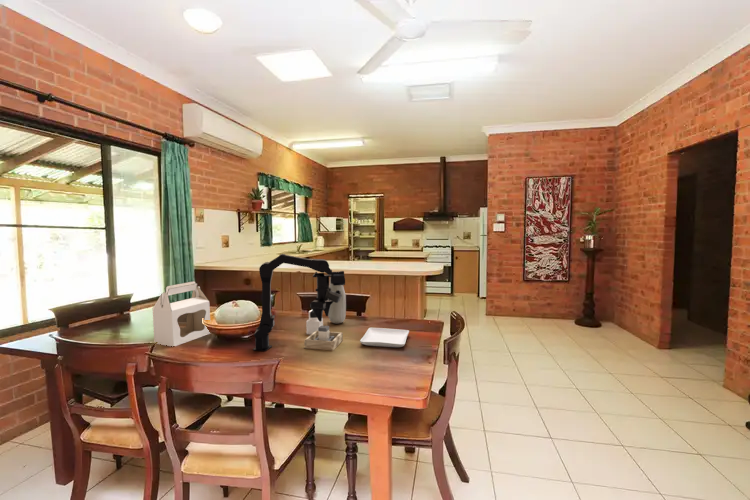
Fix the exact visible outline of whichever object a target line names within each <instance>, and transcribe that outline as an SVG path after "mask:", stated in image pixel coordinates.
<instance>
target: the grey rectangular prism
mask: <svg viewBox="0 0 750 500" xmlns="http://www.w3.org/2000/svg"><path fill="white" fill-rule="evenodd" d="M329 332H330V325H323V326H322V325H321V326H320V327H319V328H318V335H319V340H329Z"/></svg>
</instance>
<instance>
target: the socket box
mask: <svg viewBox="0 0 750 500" xmlns="http://www.w3.org/2000/svg"><path fill="white" fill-rule="evenodd" d="M303 341H304V345H303V346H304V349H307V350H308V349H310V350H322V351H323V350H324V351H325V350H326V351H335V349H336V348H337V347H338V346H339V345H340V344H341V343H342V342H343V332H341V331H329V340H319V335H318V331H315V332H314V333H312V334H309V335H308V337H306V338H305V339H304V340H303Z"/></svg>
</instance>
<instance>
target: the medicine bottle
mask: <svg viewBox="0 0 750 500" xmlns="http://www.w3.org/2000/svg"><path fill="white" fill-rule="evenodd" d="M305 325H306V326H305V328H306V335H311V334H312V333H314V332H315V331H318V328H319V327H320V326H321V325H322V326H324V318H323V317H322V321H319V320H318V318H317V316H316V314H315V312H314V311H313V309H311V310H309V311H308V319H307V320H306V324H305Z"/></svg>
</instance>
